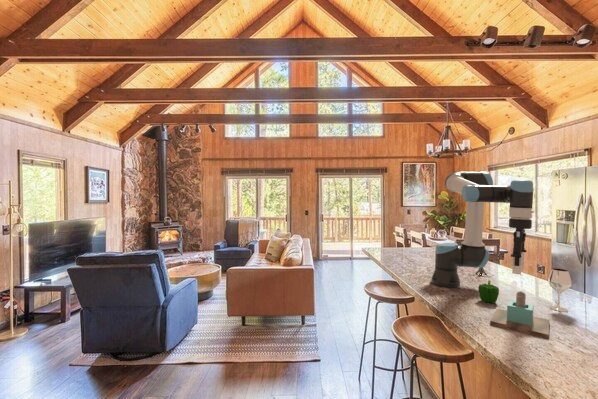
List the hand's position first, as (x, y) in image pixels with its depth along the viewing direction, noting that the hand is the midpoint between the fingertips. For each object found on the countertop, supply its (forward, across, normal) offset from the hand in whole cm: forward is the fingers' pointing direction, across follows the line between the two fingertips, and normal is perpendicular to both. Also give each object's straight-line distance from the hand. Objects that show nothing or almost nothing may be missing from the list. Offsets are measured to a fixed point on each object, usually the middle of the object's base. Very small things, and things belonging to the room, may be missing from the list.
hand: (518, 270), depth 126 cm
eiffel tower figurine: (+22, +76, +25) cm, 84 cm away
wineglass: (+21, +30, -14) cm, 40 cm away
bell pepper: (+21, +20, +12) cm, 32 cm away
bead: (+19, -2, -1) cm, 19 cm away
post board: (+21, -2, -2) cm, 21 cm away
